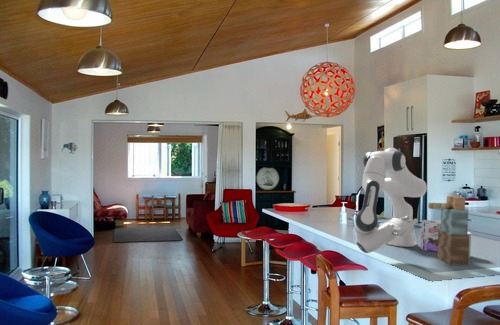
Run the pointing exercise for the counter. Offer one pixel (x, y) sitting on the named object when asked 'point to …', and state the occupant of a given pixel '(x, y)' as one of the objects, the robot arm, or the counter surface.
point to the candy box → (430, 235)
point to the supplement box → (469, 242)
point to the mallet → (450, 203)
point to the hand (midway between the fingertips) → (412, 218)
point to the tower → (453, 237)
